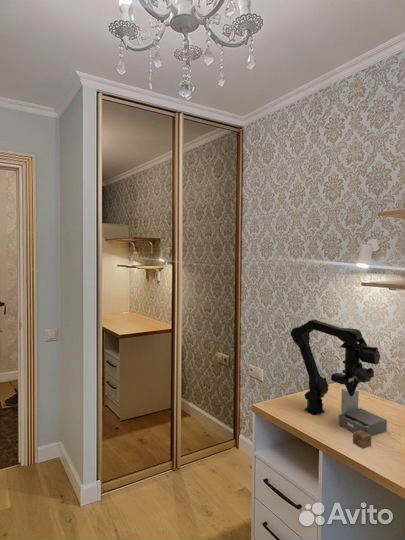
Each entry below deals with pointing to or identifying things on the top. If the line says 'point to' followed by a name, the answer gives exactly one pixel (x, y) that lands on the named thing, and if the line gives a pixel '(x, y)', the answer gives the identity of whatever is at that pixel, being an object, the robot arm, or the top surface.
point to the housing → (368, 421)
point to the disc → (359, 422)
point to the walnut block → (362, 439)
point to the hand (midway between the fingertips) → (351, 395)
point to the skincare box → (349, 401)
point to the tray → (350, 424)
